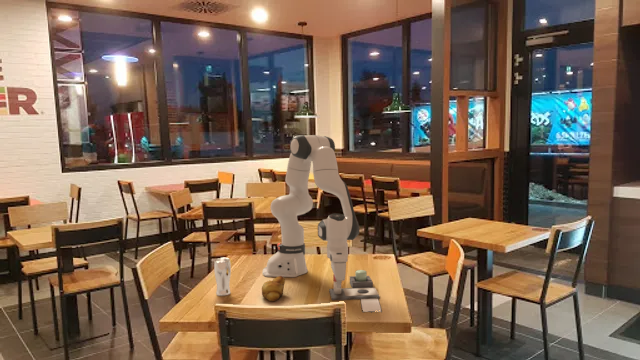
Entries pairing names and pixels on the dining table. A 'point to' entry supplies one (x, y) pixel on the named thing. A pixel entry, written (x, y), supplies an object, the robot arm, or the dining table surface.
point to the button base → (360, 283)
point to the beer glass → (222, 276)
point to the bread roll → (273, 288)
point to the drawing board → (355, 293)
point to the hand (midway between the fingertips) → (337, 284)
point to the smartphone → (370, 305)
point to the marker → (336, 290)
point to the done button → (361, 275)
